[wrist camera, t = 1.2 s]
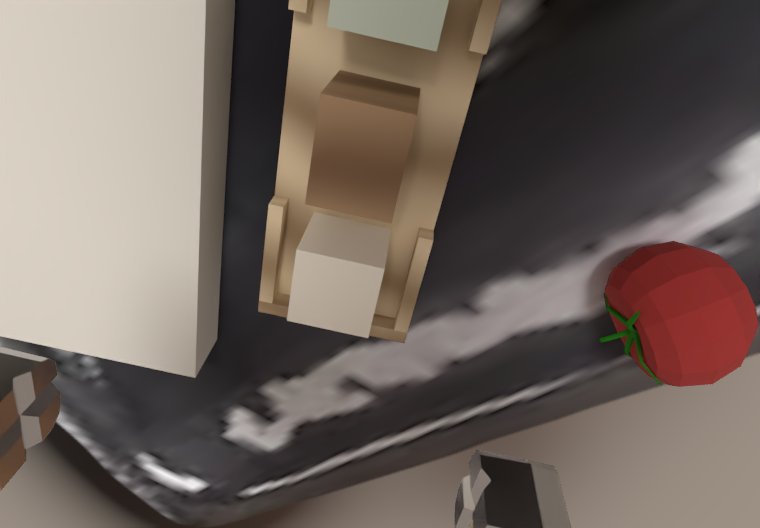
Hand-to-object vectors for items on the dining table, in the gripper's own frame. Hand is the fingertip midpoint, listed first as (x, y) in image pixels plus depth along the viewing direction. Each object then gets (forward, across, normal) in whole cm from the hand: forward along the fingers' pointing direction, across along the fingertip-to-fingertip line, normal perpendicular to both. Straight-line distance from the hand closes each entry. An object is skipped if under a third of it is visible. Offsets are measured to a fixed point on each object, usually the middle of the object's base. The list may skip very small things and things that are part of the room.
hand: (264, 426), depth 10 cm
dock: (+22, +16, +2) cm, 27 cm away
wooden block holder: (+22, 0, -1) cm, 22 cm away
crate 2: (+20, 0, +7) cm, 21 cm away
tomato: (+22, -18, +5) cm, 29 cm away
